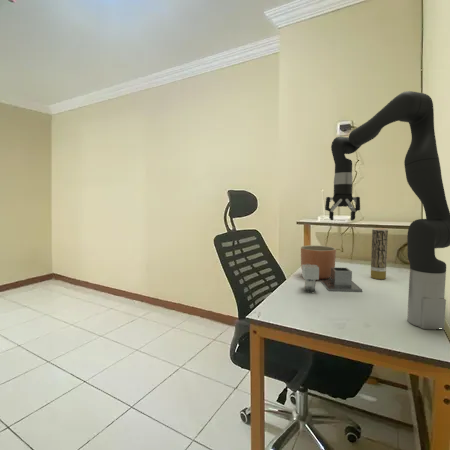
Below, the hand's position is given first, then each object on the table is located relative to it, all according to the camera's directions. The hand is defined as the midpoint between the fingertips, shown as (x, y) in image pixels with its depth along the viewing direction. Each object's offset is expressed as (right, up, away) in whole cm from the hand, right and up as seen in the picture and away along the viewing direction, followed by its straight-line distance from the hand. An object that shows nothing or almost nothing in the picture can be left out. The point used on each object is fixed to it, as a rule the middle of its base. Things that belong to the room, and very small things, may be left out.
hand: (342, 220), depth 126 cm
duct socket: (+1, -30, +3) cm, 30 cm away
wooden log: (+25, -29, +17) cm, 42 cm away
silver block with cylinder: (-15, -31, -1) cm, 34 cm away
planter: (-4, -29, +20) cm, 36 cm away
